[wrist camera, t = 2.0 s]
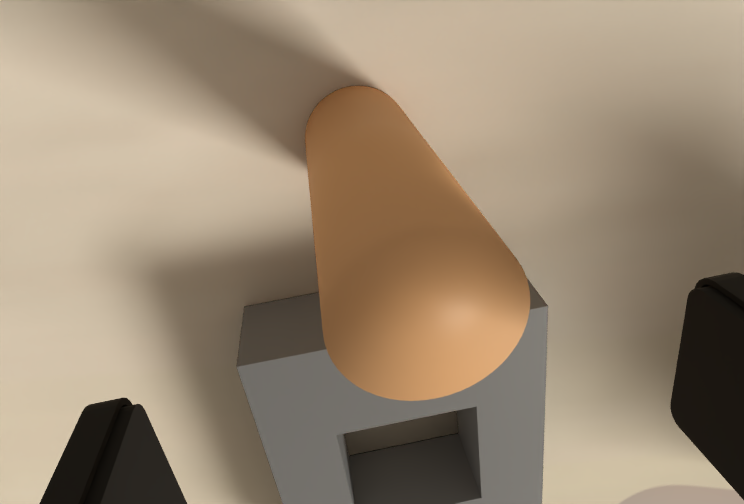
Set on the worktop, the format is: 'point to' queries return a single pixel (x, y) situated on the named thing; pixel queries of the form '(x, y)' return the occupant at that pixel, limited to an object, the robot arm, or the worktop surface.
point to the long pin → (404, 256)
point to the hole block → (390, 419)
